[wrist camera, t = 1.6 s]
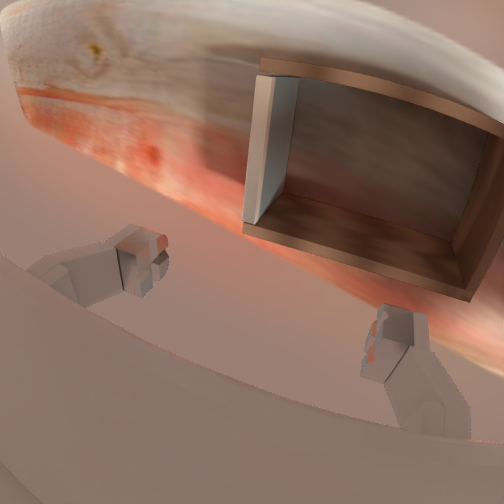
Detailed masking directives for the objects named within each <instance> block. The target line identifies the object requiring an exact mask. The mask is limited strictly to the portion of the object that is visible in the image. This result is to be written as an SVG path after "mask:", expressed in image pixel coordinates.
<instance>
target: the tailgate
mask: <svg viewBox="0 0 504 504" xmlns="http://www.w3.org/2000/svg"><path fill="white" fill-rule="evenodd" d="M298 86H299V78H298V77H292V76H273V75H257V76H256V85H255V94H254V104H253V113H252V123H251V133H250V142H249V152H248V162H247V172H246V182H245V193H244V203H243V214H242V221H244V222H248V223H251V224H256V222H257V221H258V219H259V218H260V217H261V216H262V215H263V213H264V212H265V211H266V210H267V209H268V208H269V207H270V205H271V204H272V203H273V202H274V201H275V200H276V199H277V197H278V196H279V195H280V194H281V193H282V192H283V190H284V183H285V177H286V170H287V163H288V156H289V150H290V143H291V136H292V129H293V122H294V115H295V108H296V101H297V93H298Z"/></svg>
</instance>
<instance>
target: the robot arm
mask: <svg viewBox="0 0 504 504" xmlns="http://www.w3.org/2000/svg"><path fill="white" fill-rule="evenodd" d="M167 247H168V238H167V237H166V235H164V234H161V233H158V232H156V231H153V230H150V229H147V228H144V227H141V226H138V225H135V224H129V225H128V226H126V227H125V228H123V229H122V230H120V231H119V232H118V233H116V234H115V235H113V236H112V237H110V238H109V239H108V240H106V241H105V242H103V243H101V242H98V243H93V244H89V245H85V246H81V247H76V248H72V249H68V250H64V251H61V252H56V253H53V254H49V255H45V256H44V257H42V258H41V259H40V260H38V261H37V262H36V263H34V264H33V265H31V266H30V267H29V268H27V269H26V270H24V269H22V268H21V267H19V266H18V265H16V264H15V263H13V262H12V261H11V260H9V259H8V258H6V257H5V256H3V255H2V254H1V253H0V504H504V443H496V442H485V441H476V440H471V415H470V414H471V413H470V406H469V405H468V403H467V402H466V400H465V399H464V397H463V395H462V394H461V392H460V391H459V389H458V388H457V386H456V385H455V383H454V382H453V380H452V379H451V377H450V375H449V374H448V373H447V371H446V369H445V368H444V367H443V366H442V364H441V362H440V361H439V359H438V358H437V356H436V355H435V353H434V352H430V343H429V329H428V318H427V315H426V314H423V313H419V312H416V311H410V310H406V309H403V308H400V307H396V306H393V305H389V304H386V303H382V305H381V306H380V308H379V311H378V315H377V320H376V321H375V322H373V323H372V325H371V328H370V330H369V332H368V335H367V338H366V342H365V347H364V351H365V353H366V355H365V356H364V358H363V360H362V365H361V371H360V377H362V378H366V379H369V380H373V381H376V382H379V383H383V384H384V387H385V390H386V392H387V395H388V397H389V400H390V403H391V405H392V408H393V410H394V413H395V415H396V418H397V421H398V423H399V426H400V428H397V427H392V426H387V425H383V424H379V423H375V422H370V421H366V420H362V419H358V418H354V417H350V416H347V415H343V414H340V413H336V412H332V411H329V410H325V409H322V408H318V407H315V406H312V405H308V404H305V403H302V402H299V401H296V400H293V399H290V398H287V397H284V396H281V395H278V394H275V393H272V392H269V391H266V390H264V389H261V388H258V387H255V386H253V385H250V384H247V383H245V382H242V381H239V380H236V379H234V378H232V377H229V376H227V375H224V374H222V373H219V372H217V371H214V370H212V369H209V368H207V367H205V366H202V365H200V364H198V363H195V362H193V361H191V360H188V359H186V358H184V357H181V356H179V355H177V354H175V353H172V352H170V351H168V350H166V349H164V348H162V347H160V346H158V345H156V344H154V343H152V342H149V341H147V340H145V339H143V338H141V337H139V336H137V335H135V334H133V333H131V332H129V331H127V330H125V329H124V328H122V327H120V326H118V325H116V324H114V323H112V322H110V321H108V320H107V319H104V318H103V317H101V316H99V315H97V314H96V313H94V312H92V311H90V310H88V309H87V308H86V307H89V306H91V305H93V304H96V303H98V302H100V301H103V300H105V299H107V298H110V297H112V296H115V295H117V294H119V293H122V292H123V291H126V292H128V293H131V294H133V295H135V296H138V297H140V298H143V297H144V296H145V295H146V294H147V293H148V292H149V291H150V290H151V289H152V288H153V282H156V281H160V280H161V279H162V278H163V277H164V276H165V274H166V272H167V270H168V266H169V256H168V254H167V252H166V251H165V249H166V248H167Z"/></svg>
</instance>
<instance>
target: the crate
mask: <svg viewBox="0 0 504 504" xmlns="http://www.w3.org/2000/svg"><path fill="white" fill-rule="evenodd" d="M259 71H262V72H271V73H279V74H286V75H293V76H299V77H305V78H311V79H317V80H322V81H328V82H333V83H337V84H342V85H347V86H351V87H356V88H360V89H364V90H368V91H372V92H376V93H380V94H383V95H387V96H390V97H394V98H397V99H401V100H404V101H407V102H411V103H414V104H417V105H420V106H423V107H426V108H429V109H432V110H435V111H437V112H440V113H443V114H446V115H448V116H451V117H454V118H456V119H459V120H461V121H464V122H466V123H469V124H471V125H474V126H476V127H478V128H481V129H483V130H485V131H487V132H489V133H488V137H487V141H486V145H485V148H484V152H483V155H482V159H481V162H480V165H479V169H478V172H477V175H476V178H475V181H474V184H473V187H472V190H471V193H470V196H469V199H468V201H467V204H466V207H465V210H464V212H463V215H462V217H461V220H460V223H459V225H458V228H457V230H456V232H455V235H454V237H453V240H452V242H451V243H450V242H447V241H444V240H441V239H438V238H435V237H432V236H429V235H426V234H423V233H420V232H417V231H414V230H411V229H408V228H405V227H402V226H399V225H396V224H393V223H390V222H386V221H383V220H380V219H377V218H373V217H370V216H367V215H363V214H360V213H357V212H353V211H350V210H346V209H343V208H339V207H336V206H332V205H329V204H325V203H321V202H318V201H314V200H310V199H307V198H303V197H299V196H295V195H292V194H288V193H284V192H282V193H281V194H280V195H279V196H278V197H277V199H276V200H275V201H274V202H273V203H272V204H271V205H270V207H269V208H268V209H267V210H266V211H265V212H264V213H263V215H262V216H261V217H260V218H259V219H258V221H257V222H256V224H251V223H248V222H244V223H243V234H246V235H250V236H253V237H257V238H260V239H263V240H267V241H270V242H274V243H277V244H280V245H284V246H287V247H291V248H294V249H297V250H301V251H304V252H307V253H311V254H314V255H317V256H321V257H324V258H327V259H331V260H334V261H337V262H341V263H344V264H347V265H350V266H354V267H357V268H360V269H364V270H367V271H370V272H373V273H377V274H380V275H383V276H386V277H390V278H393V279H396V280H399V281H402V282H406V283H409V284H412V285H415V286H418V287H422V288H425V289H428V290H431V291H434V292H437V293H441V294H444V295H447V296H450V297H453V298H456V299H459V300H462V301H466V302H470V301H471V299H472V297H473V295H474V294H475V292H476V290H477V288H478V287H479V285H480V283H481V281H482V279H483V277H484V275H485V274H486V272H487V270H488V268H489V266H490V264H491V262H492V260H493V258H494V256H495V254H496V252H497V250H498V247H499V245H500V243H501V241H502V239H503V236H504V124H503V123H501V122H499V121H497V120H495V119H492V118H490V117H488V116H486V115H484V114H481V113H479V112H477V111H474V110H472V109H470V108H467V107H465V106H462V105H460V104H457V103H455V102H452V101H449V100H447V99H444V98H441V97H438V96H436V95H433V94H430V93H427V92H424V91H421V90H418V89H415V88H411V87H408V86H405V85H401V84H398V83H394V82H391V81H387V80H384V79H380V78H376V77H372V76H368V75H364V74H359V73H355V72H350V71H346V70H341V69H336V68H331V67H325V66H320V65H314V64H307V63H301V62H294V61H286V60H278V59H269V58H261V60H260V69H259Z"/></svg>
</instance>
